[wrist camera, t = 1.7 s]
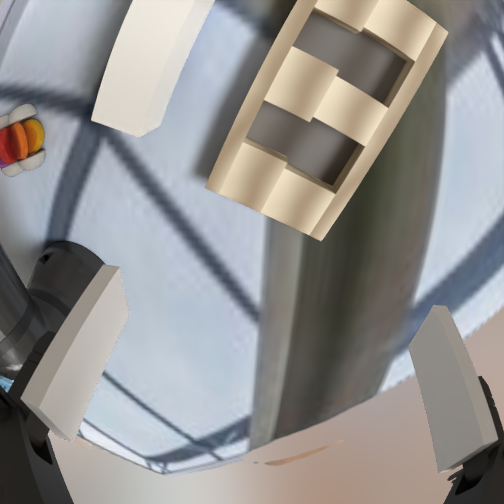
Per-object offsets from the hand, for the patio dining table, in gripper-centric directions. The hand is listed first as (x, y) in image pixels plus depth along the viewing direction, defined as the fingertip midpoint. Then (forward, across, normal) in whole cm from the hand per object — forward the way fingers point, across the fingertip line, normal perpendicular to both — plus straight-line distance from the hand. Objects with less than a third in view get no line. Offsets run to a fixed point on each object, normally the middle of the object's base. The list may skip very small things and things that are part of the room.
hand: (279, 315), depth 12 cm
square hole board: (+21, +3, +7) cm, 23 cm away
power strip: (+22, -11, +12) cm, 27 cm away
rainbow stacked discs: (+22, -32, +2) cm, 39 cm away
